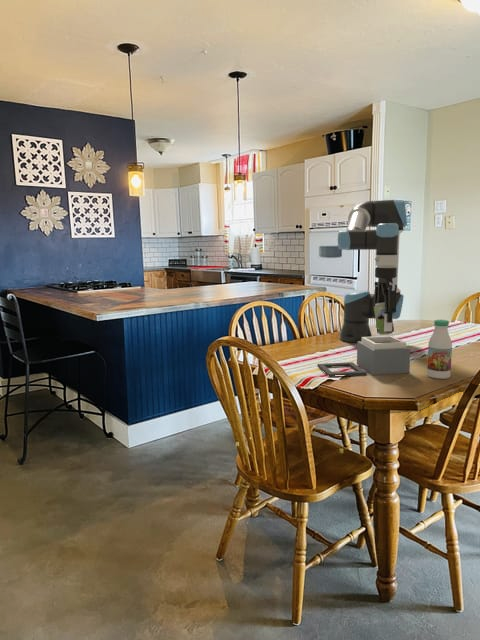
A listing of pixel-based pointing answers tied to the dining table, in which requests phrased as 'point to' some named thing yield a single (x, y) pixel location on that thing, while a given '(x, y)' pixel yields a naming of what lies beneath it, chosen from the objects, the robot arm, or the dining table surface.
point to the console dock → (383, 355)
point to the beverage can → (381, 319)
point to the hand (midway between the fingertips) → (383, 329)
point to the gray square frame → (351, 373)
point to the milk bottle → (439, 351)
